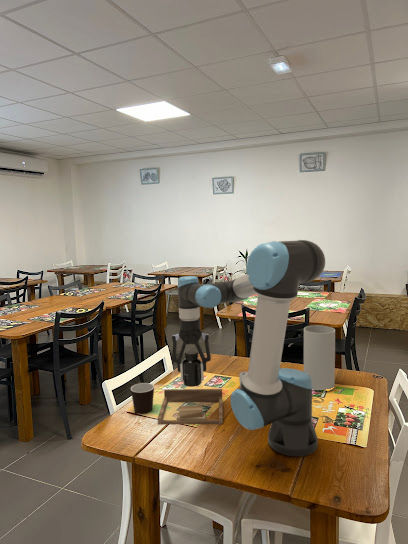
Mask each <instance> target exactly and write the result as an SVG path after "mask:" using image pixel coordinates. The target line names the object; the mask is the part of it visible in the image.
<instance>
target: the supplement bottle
mask: <svg viewBox="0 0 408 544" xmlns="http://www.w3.org/2000/svg"><path fill="white" fill-rule="evenodd" d="M184 352H185V353H184V359H183V360H182V362H183V381H182V382H183V385H184V386H185V387H189V388H190V387H193V388H194V387H198V386H200V385H201V384H202V382H203V381H201V361H202V360H201V358H199V352H198V350H187V351H184Z"/></svg>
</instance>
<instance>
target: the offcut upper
mask: <svg viewBox="0 0 408 544" xmlns="http://www.w3.org/2000/svg"><path fill="white" fill-rule="evenodd" d="M178 410H179V412H178V413H179V416H180V418H195V417H203V413H204V412H203V405H202V404H195V405H179V406H178Z"/></svg>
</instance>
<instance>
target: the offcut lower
mask: <svg viewBox="0 0 408 544" xmlns="http://www.w3.org/2000/svg"><path fill="white" fill-rule="evenodd" d="M202 413H203V417H195V418H180V416H179V412H177V415H176V420H207V418H206V417H207V414H206V412H202Z"/></svg>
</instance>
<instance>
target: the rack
mask: <svg viewBox="0 0 408 544" xmlns="http://www.w3.org/2000/svg"><path fill="white" fill-rule="evenodd" d="M163 391H164V395H163V396H164V397H163V401H162V404H161V406H160V410H159V413H158V416H157V425H224V423H223V422H224V421H223V388H191V389H190V388H189V389H187V388H186V389H184V388H183V389H182V388H181V389H180V388H177V389H175V388H174V389H170V388H169V389H167V388H166V389H165V388H164V390H163ZM168 403H218V419H206V420H177V419H176V420H175V419H173V420H172V419H171V420H169V419H166V420H164V417H165V414H166V409H167V406H168Z"/></svg>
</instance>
